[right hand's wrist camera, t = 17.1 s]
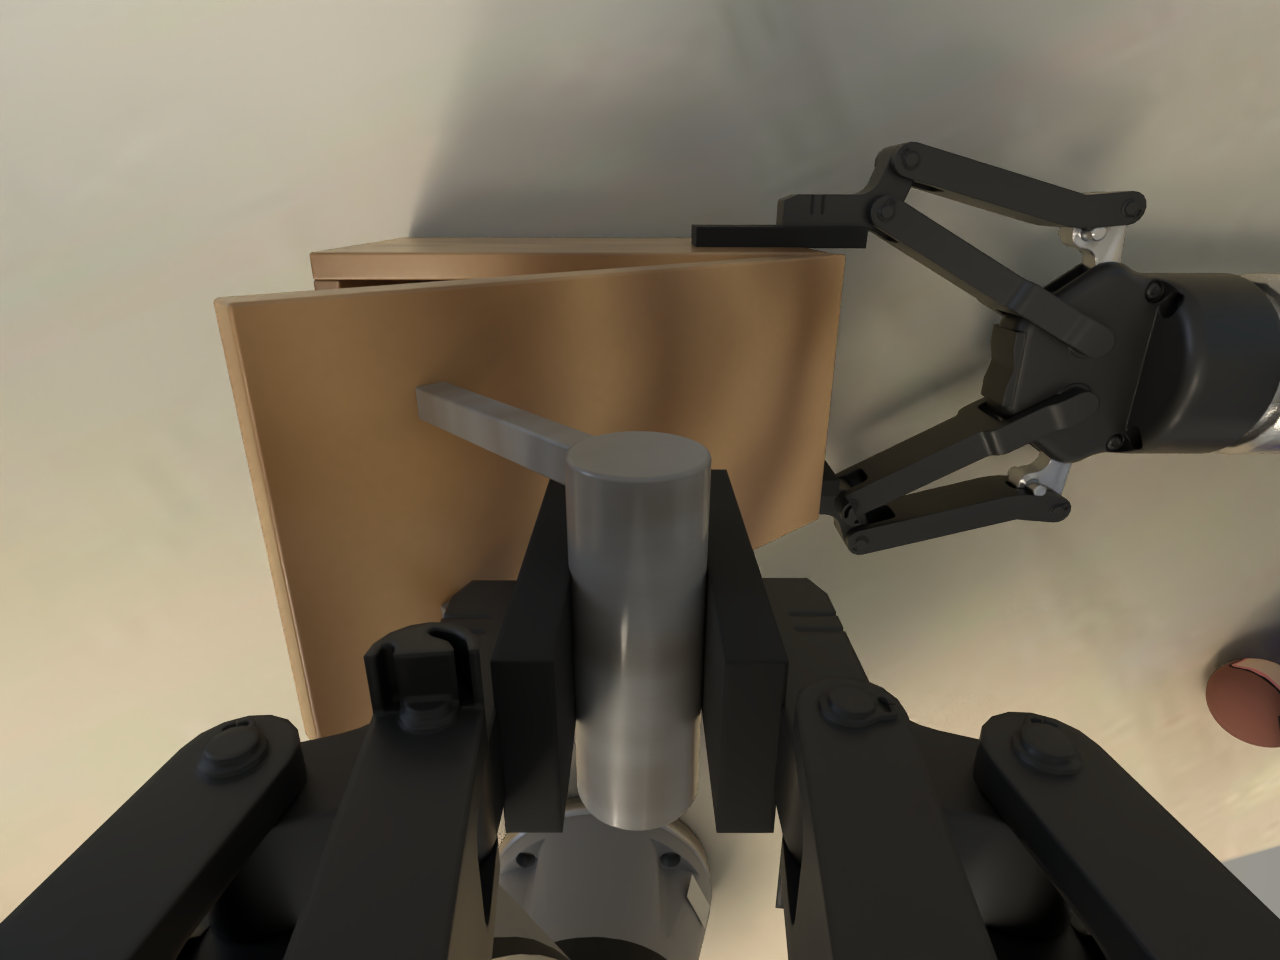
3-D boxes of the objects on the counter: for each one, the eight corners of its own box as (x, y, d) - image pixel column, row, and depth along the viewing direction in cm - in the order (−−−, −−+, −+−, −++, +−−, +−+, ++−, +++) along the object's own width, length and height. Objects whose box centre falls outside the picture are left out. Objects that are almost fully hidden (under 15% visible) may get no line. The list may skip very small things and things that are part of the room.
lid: (304, 734, 16) (510, 1041, 10) (211, 297, 12) (443, 381, 7) (797, 511, 27) (1024, 593, 22) (820, 253, 24) (1098, 269, 18)
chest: (423, 428, 37) (350, 514, 27) (401, 237, 34) (308, 252, 24) (753, 425, 38) (804, 509, 28) (765, 237, 34) (828, 252, 24)
